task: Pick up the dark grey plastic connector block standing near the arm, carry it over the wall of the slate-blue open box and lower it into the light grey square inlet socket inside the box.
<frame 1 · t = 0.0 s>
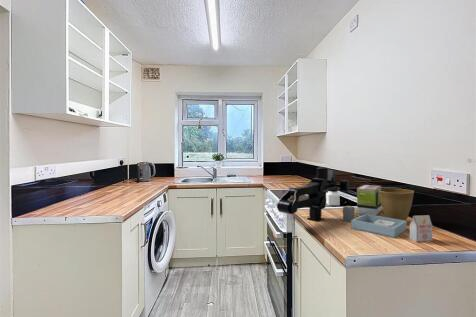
hand: (339, 183, 155), 17 cm above the counter, tool horizontal, fingers open, 9 cm apart
tea box: (369, 212, 154), on the counter
milk carton: (420, 240, 107), on the counter
connector: (348, 220, 136), on the counter
medicine bottle: (332, 204, 175), on the counter
walled box: (378, 229, 122), on the counter
inlet: (384, 230, 120), resting on walled box
plant pot: (395, 222, 132), on the counter
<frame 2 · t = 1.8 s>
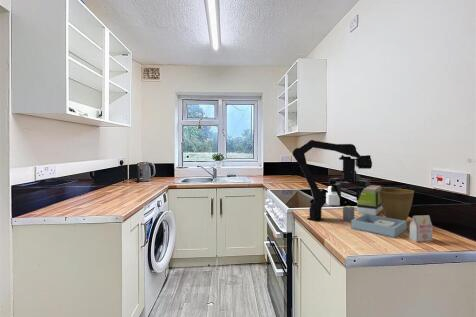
hand: (348, 199, 136), 11 cm above the counter, tool pointing down, fingers open, 9 cm apart
nothing on the counter moved.
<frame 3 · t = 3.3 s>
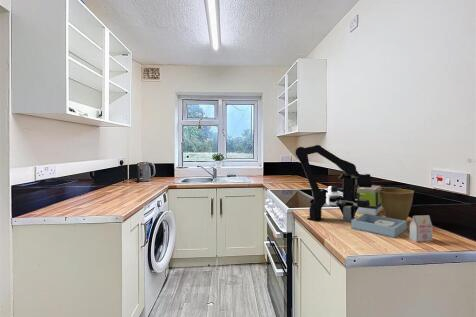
hand: (348, 217, 136), 2 cm above the counter, tool pointing down, fingers closed on connector, 4 cm apart
connector: (348, 220, 136), on the counter, touching gripper
everything else where it was.
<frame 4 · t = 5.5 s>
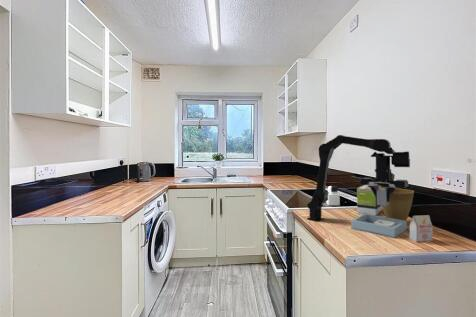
hand: (383, 201, 120), 13 cm above the counter, tool pointing down, fingers closed on connector, 4 cm apart
connector: (383, 204, 120), point 11 cm above the counter, touching gripper
everything else where it was.
when the fingers open (4 cm above the counter, at t = 7.9 s): connector drops 2 cm, resting on inlet.
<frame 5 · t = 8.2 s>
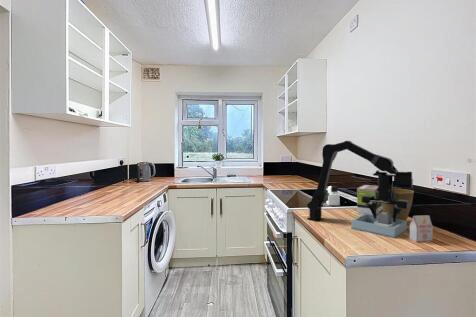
hand: (384, 220, 120), 4 cm above the counter, tool pointing down, fingers open, 8 cm apart
connector: (384, 228, 120), point 1 cm above the counter, touching inlet
everything else where it was.
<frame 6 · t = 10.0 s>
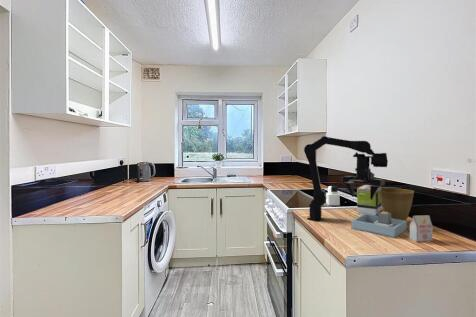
hand: (361, 198, 131), 12 cm above the counter, tool pointing down, fingers open, 9 cm apart
nothing on the counter moved.
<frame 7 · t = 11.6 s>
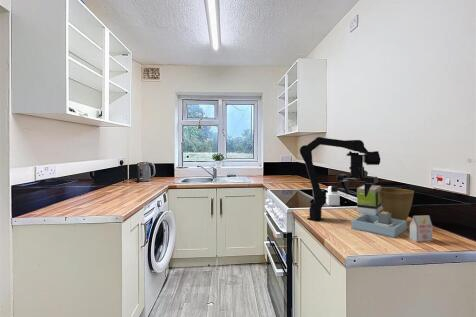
hand: (356, 195, 135), 13 cm above the counter, tool pointing down, fingers open, 9 cm apart
nothing on the counter moved.
at the end: connector 0.1 cm from the inlet (horizontally); connector point 0.8 cm above the counter; the gripper is holding nothing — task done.
